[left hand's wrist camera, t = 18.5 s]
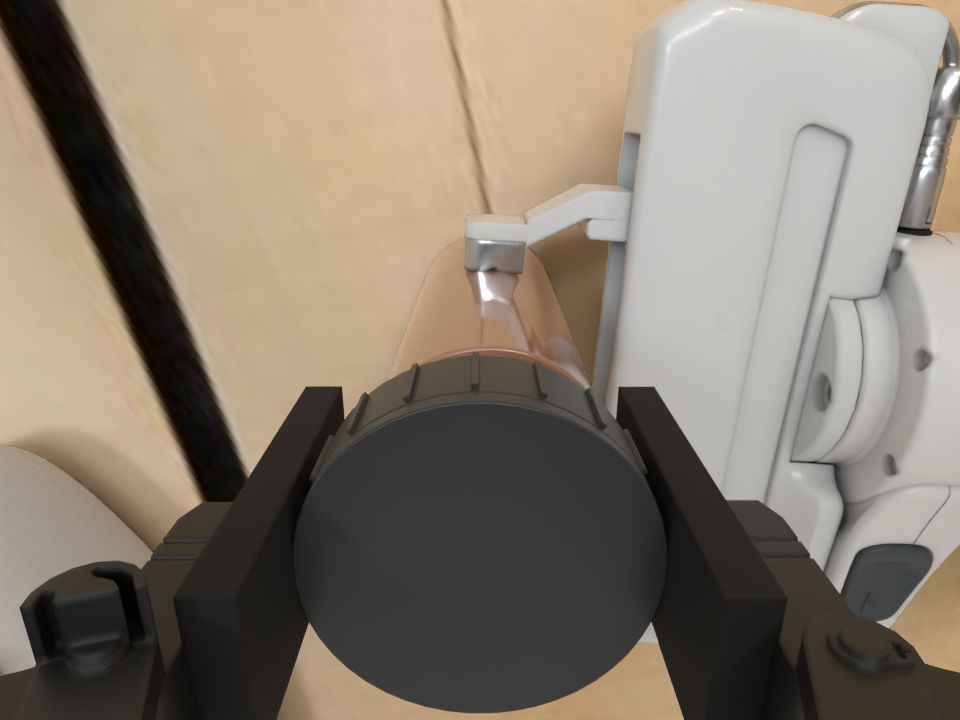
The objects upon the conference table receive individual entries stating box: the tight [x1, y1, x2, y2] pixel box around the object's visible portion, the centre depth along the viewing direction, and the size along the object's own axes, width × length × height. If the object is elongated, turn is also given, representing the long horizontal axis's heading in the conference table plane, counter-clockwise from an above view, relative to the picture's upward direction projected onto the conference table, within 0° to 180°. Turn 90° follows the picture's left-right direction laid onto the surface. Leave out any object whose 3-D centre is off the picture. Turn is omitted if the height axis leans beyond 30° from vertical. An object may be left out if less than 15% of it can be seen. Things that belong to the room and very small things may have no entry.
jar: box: [387, 238, 593, 390], centre depth 20 cm, size 5×5×16 cm
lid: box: [293, 352, 668, 713], centre depth 11 cm, size 6×6×2 cm
